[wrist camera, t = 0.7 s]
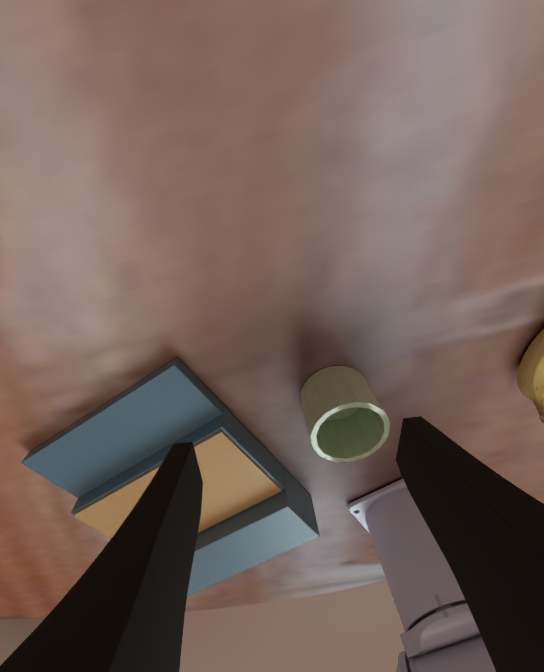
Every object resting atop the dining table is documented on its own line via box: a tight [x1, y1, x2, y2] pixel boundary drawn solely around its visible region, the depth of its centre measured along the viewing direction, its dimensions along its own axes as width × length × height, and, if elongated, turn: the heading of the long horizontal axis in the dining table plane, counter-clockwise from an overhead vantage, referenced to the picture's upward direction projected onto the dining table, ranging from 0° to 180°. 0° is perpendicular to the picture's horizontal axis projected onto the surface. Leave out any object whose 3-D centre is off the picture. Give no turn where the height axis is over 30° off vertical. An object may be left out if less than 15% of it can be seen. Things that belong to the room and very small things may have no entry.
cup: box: [300, 366, 390, 463], centre depth 21 cm, size 5×5×4 cm
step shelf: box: [21, 357, 319, 596], centre depth 24 cm, size 18×14×4 cm
